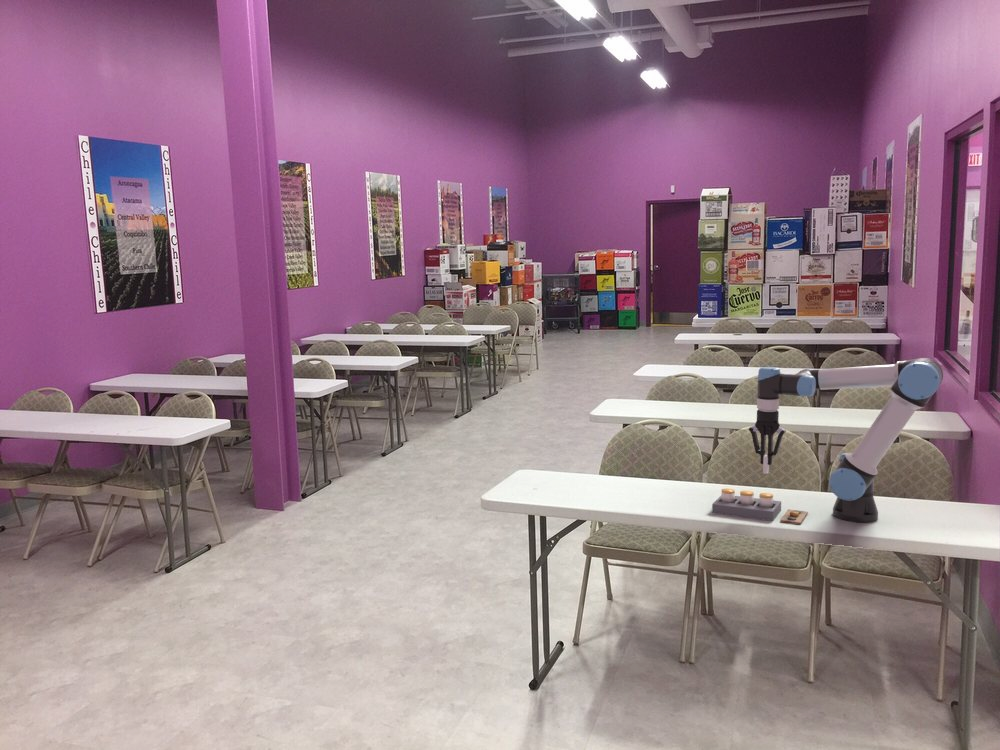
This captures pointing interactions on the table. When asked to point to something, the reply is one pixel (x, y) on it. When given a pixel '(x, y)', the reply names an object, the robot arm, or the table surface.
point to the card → (794, 516)
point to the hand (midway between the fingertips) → (765, 472)
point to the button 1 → (728, 495)
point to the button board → (746, 509)
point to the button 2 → (766, 500)
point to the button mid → (747, 498)
